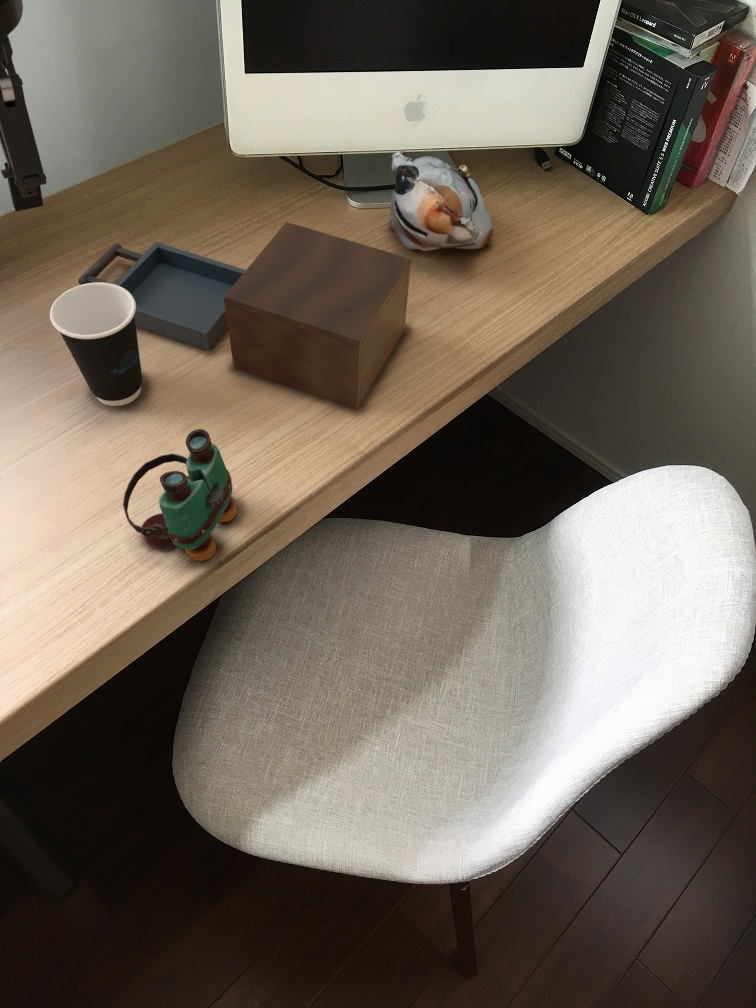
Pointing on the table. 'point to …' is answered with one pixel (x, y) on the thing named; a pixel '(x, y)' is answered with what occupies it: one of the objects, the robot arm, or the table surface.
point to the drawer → (174, 291)
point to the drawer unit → (318, 313)
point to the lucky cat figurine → (437, 205)
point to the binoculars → (189, 499)
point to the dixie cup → (102, 339)
